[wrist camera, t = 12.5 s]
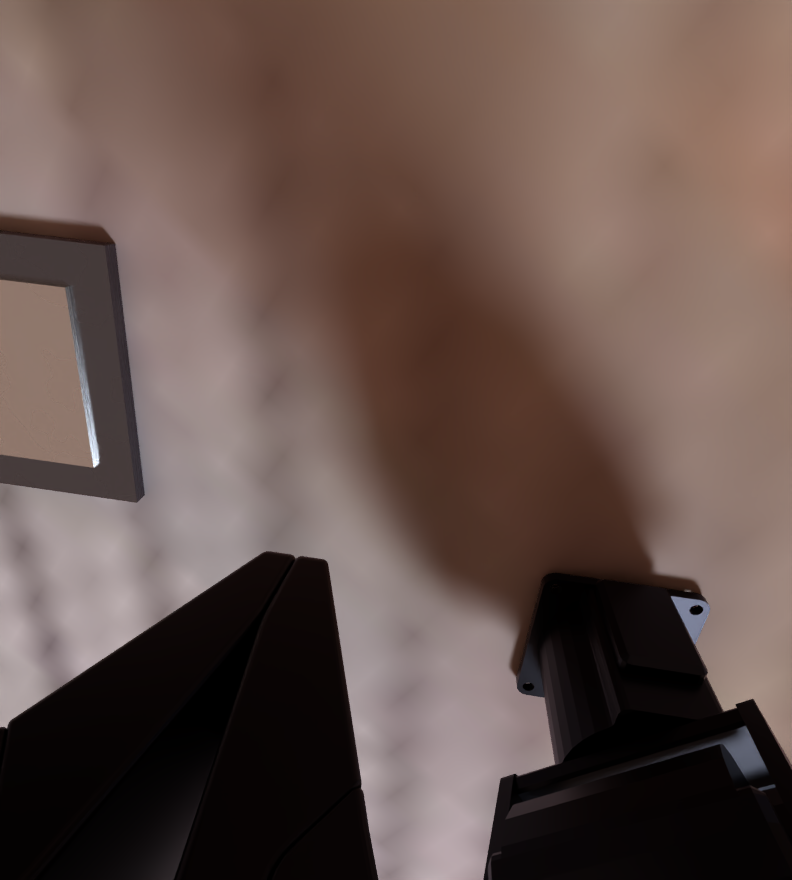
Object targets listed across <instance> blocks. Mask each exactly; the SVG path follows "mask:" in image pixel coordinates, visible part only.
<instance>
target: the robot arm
mask: <svg viewBox="0 0 792 880" xmlns="http://www.w3.org/2000/svg"><path fill="white" fill-rule="evenodd" d="M554 584H558V585H560V586H559V587H557V588H552V587H550V586H552V585H554ZM694 605H698V606H697V607H695V608H691V607H692V606H694ZM709 611H710V607H709V604H708V603H707V601H706V599H705V598H704V597H703V596H702V595H700V594H697V593H690V592H683V591H676V590H669V589H664V588H660V587H653V586H646V585H639V584H632V583H625V582H618V581H612V580H601V579H594V578H587V577H580V576H573V575H567V574H560V573H551V574H548V575H546V576H545V577H544V578H543V580H542V582H541V586H540V590H539V594H538V598H537V601H536V605H535V609H534V613H533V617H532V620H531V624H530V628H529V632H528V635H527V639H526V643H525V647H524V651H523V654H522V658H521V662H520V666H519V670H518V673H517V677H516V681H517V689H518V690H519V691H520V692H521V693H523V694H526V695H532V696H538V697H544V698H545V703H546V710H547V716H548V722H549V729H550V735H551V741H552V748H553V754H554V761H555V765H552V766H549V767H545V768H542V769H539V770H536V771H533V772H529V773H526V774H523V775H520V776H517V775H516V774H513V775H510V776H506V777H503V778H501V780H500V785H499V791H498V797H497V803H496V809H495V815H494V821H493V826H492V832H491V838H490V844H489V850H488V856H487V862H486V868H485V874H484V880H792V764H791V763H790V761H789V759H788V758H787V756H786V754H785V752H784V751H783V749H782V747H781V746H780V744H779V742H778V741H777V739H776V737H775V735H774V734H773V732H772V730H771V729H770V727H769V725H768V723H767V722H766V720H765V718H764V717H763V715H762V713H761V711H760V710H759V708H758V706H757V705H756V703H755V701H754V699H751V700H748V701H745V702H741V703H738V704H736V707H737V708H734V709H731V710H728V711H725V712H724V711H723V709H722V707H721V705H720V703H719V701H718V699H717V697H716V695H715V693H714V691H713V689H712V687H711V685H710V683H709V680H708V678H707V673H708V672H707V668H706V666H705V664H704V662H703V660H702V658H701V656H700V654H699V652H698V650H697V648H696V646H695V643H696V641H697V639H698V637H699V634H700V632H701V630H702V628H703V625H704V623H705V621H706V619H707V616H708V614H709ZM0 880H378V875H377V870H376V865H375V859H374V854H373V849H372V843H371V838H370V833H369V826H368V820H367V813H366V806H365V800H364V794H363V791H362V790H361V776H360V770H359V763H358V757H357V750H356V743H355V737H354V730H353V724H352V717H351V711H350V704H349V698H348V691H347V685H346V678H345V672H344V665H343V658H342V652H341V645H340V639H339V632H338V626H337V619H336V613H335V606H334V600H333V593H332V586H331V580H330V573H329V567H328V563H327V561H326V560H324V559H318V558H311V557H304V556H300V557H298V558H295V557H294V556H293V555H291V554H284V553H277V552H271V551H266V552H264V553H262V554H260V555H258V556H257V557H255V558H254V559H252V560H251V561H249V562H248V563H246V564H245V565H243V566H242V567H240V568H239V569H237V570H236V571H234V572H233V573H231V574H230V575H228V576H227V577H225V578H224V579H222V580H221V581H219V582H218V583H216V584H215V585H213V586H212V587H210V588H209V589H207V590H206V591H204V592H203V593H201V594H200V595H198V596H197V597H195V598H194V599H192V600H191V601H189V602H188V603H186V604H185V605H183V606H182V607H180V608H179V609H177V610H176V611H174V612H173V613H171V614H170V615H168V616H167V617H165V618H164V619H162V620H161V621H159V622H158V623H156V624H155V625H153V626H152V627H150V628H149V629H147V630H146V631H144V632H143V633H141V634H140V635H138V636H137V637H135V638H134V639H132V640H131V641H129V642H128V643H126V644H125V645H123V646H122V647H120V648H119V649H117V650H116V651H114V652H113V653H111V654H110V655H108V656H107V657H105V658H104V659H102V660H101V661H99V662H98V663H96V664H95V665H93V666H92V667H90V668H89V669H87V670H86V671H84V672H83V673H81V674H80V675H78V676H77V677H75V678H74V679H72V680H71V681H69V682H68V683H66V684H65V685H63V686H62V687H60V688H59V689H57V690H56V691H54V692H53V693H51V694H50V695H48V696H47V697H45V698H44V699H42V700H41V701H39V702H38V703H36V704H35V705H33V706H32V707H30V708H29V709H27V710H26V711H24V712H23V713H21V714H20V715H18V716H17V717H15V718H14V719H12V720H11V721H10V722H9V724H8V727H7V728H5V727H0Z"/></svg>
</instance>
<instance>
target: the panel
mask: <svg viewBox="0 0 792 880" xmlns="http://www.w3.org/2000/svg"><path fill="white" fill-rule="evenodd" d="M0 483H5V484H12V485H19V486H26V487H32V488H39V489H46V490H53V491H60V492H67V493H74V494H81V495H88V496H95V497H101V498H108V499H115V500H122V501H129V502H136V503H137V502H138V501H139V500H140V499H141V498H142V497H143V496H144V495H145V494H144V486H143V477H142V469H141V460H140V452H139V443H138V435H137V426H136V418H135V409H134V401H133V392H132V384H131V375H130V367H129V358H128V350H127V341H126V333H125V324H124V316H123V307H122V299H121V290H120V282H119V273H118V265H117V256H116V248H115V244H112V243H103V242H95V241H86V240H78V239H69V238H60V237H52V236H43V235H35V234H26V233H17V232H9V231H0Z"/></svg>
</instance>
